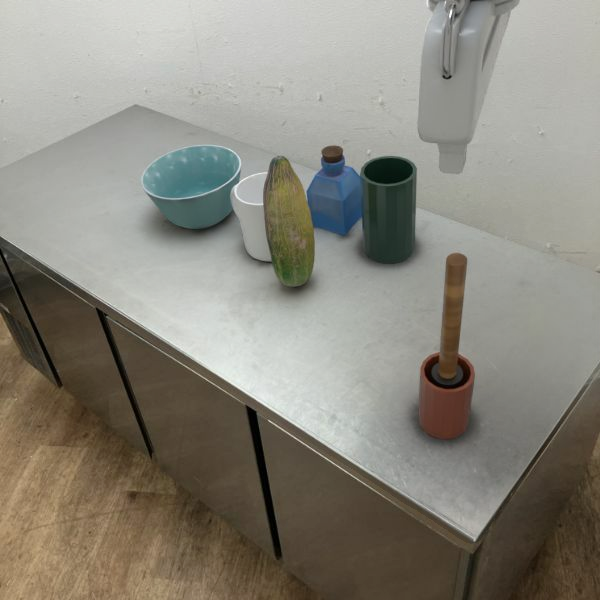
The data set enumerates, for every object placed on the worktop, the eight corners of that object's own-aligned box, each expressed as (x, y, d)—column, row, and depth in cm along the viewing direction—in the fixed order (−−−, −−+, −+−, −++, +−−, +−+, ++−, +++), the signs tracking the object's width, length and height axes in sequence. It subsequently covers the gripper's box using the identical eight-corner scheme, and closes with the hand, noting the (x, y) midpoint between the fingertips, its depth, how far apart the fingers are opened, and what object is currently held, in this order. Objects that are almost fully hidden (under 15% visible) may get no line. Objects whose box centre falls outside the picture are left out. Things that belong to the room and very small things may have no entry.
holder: (478, 428, 70) (485, 381, 65) (433, 446, 69) (436, 399, 64) (452, 393, 74) (457, 345, 68) (409, 409, 73) (411, 361, 67)
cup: (424, 254, 92) (427, 176, 84) (376, 269, 91) (374, 191, 82) (400, 226, 98) (401, 150, 89) (355, 241, 96) (351, 164, 87)
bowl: (138, 239, 102) (123, 195, 96) (175, 184, 113) (163, 142, 107) (231, 246, 98) (222, 201, 93) (260, 188, 109) (253, 145, 104)
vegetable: (326, 277, 91) (315, 151, 77) (307, 306, 87) (291, 178, 73) (288, 268, 93) (270, 143, 80) (267, 295, 89) (245, 170, 76)
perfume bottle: (364, 213, 101) (361, 144, 93) (344, 235, 97) (340, 166, 89) (330, 204, 104) (324, 136, 96) (309, 225, 100) (302, 157, 92)
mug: (218, 239, 100) (205, 182, 93) (257, 214, 104) (247, 158, 97) (271, 271, 93) (261, 211, 86) (311, 242, 97) (305, 184, 90)
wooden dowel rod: (464, 420, 70) (483, 264, 55) (437, 430, 69) (449, 275, 55) (449, 398, 72) (463, 243, 57) (423, 408, 72) (431, 253, 57)
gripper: (507, 7, 35) (484, 216, 44) (538, -90, 49) (516, 85, 58) (393, 5, 37) (394, 206, 46) (453, -88, 51) (445, 81, 60)
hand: (462, 138), depth 52 cm, fingers open, 8 cm apart
